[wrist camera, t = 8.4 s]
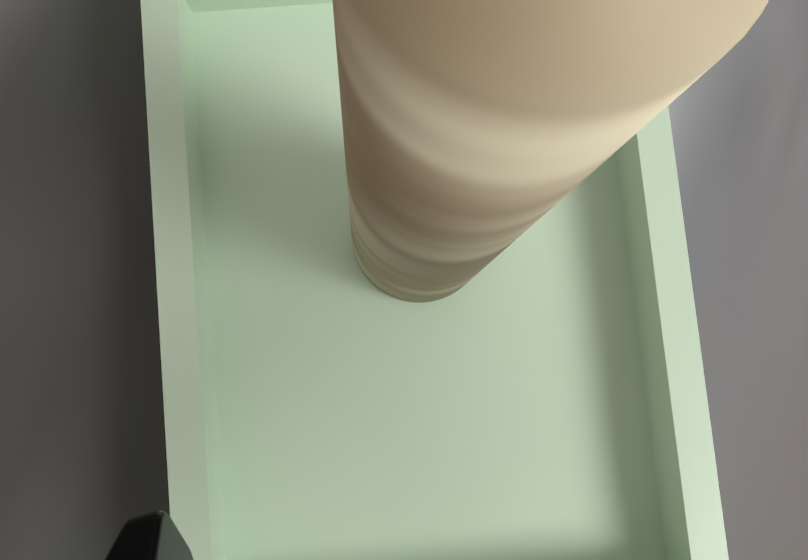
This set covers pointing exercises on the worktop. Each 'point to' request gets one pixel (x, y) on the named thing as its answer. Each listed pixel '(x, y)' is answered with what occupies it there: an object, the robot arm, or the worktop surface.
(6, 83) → the worktop surface
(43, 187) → the worktop surface
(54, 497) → the worktop surface
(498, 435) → the sage tray
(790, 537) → the worktop surface
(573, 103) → the dowel
